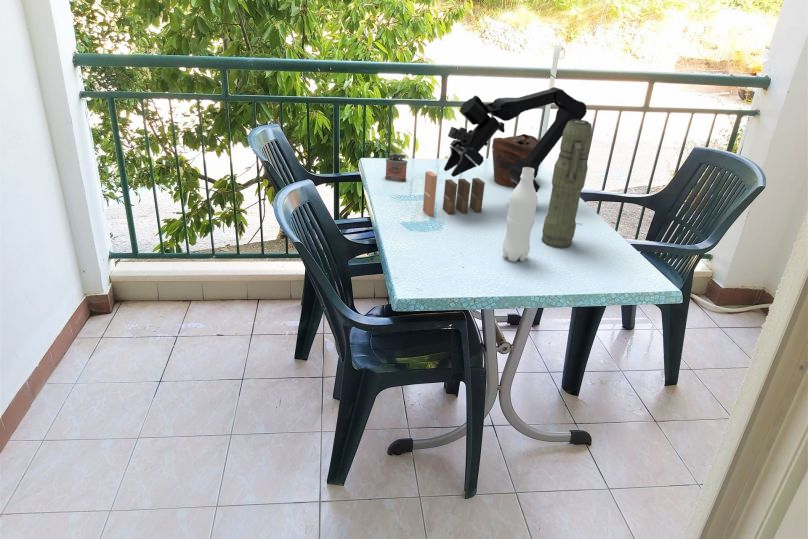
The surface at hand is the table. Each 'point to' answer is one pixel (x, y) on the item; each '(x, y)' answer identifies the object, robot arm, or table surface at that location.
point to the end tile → (429, 193)
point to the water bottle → (520, 217)
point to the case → (510, 155)
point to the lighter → (396, 168)
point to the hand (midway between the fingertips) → (448, 173)
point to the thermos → (567, 184)
